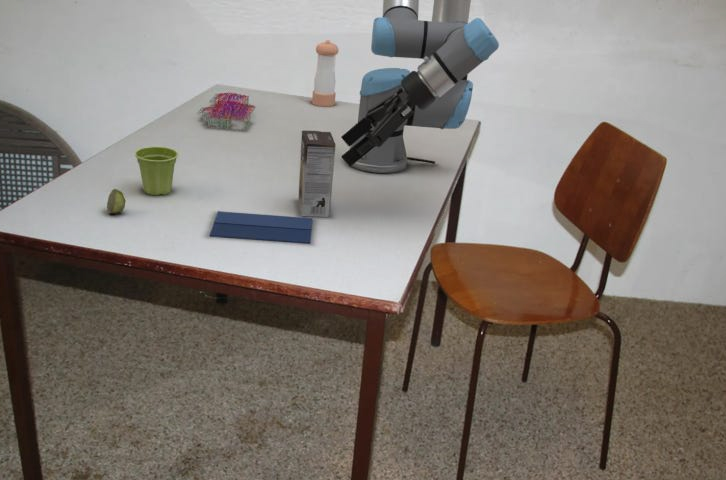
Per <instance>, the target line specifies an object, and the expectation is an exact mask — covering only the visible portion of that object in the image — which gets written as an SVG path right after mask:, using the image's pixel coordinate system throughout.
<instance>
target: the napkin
mask: <svg viewBox="0 0 726 480" xmlns="http://www.w3.org/2000/svg"><path fill="white" fill-rule="evenodd" d="M312 227H313V218H312V217H302V216H288V215H287V216H286V215H285V216H284V215H273V214H258V213H244V212H233V211H220V210H219V211H217V214H216V216H215V219H214V222H213V226H212V228H211V230H210V233H209V237H213V238H227V239H228V238H229V239H242V240H257V241H268V242H270V241H271V242H282V243H294V244H295V243H296V244H311V237H312V229H313V228H312Z"/></svg>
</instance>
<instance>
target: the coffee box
mask: <svg viewBox="0 0 726 480" xmlns="http://www.w3.org/2000/svg"><path fill="white" fill-rule="evenodd" d="M300 143H301V144H300V161H299V179H298V180H299V181H298V199H297V200H298V207H299V211H300V215H301V216H300V217H317V218H318V217H319V218H322V217H323V218H330V215H331V204H332V194H333V193H332V192H333V181H334V171H335V158H336V157H335V156H336V142H335V140H334V137H333V135H332V132H331V131H320V130H301V142H300Z"/></svg>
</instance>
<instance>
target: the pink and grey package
mask: <svg viewBox="0 0 726 480" xmlns="http://www.w3.org/2000/svg"><path fill="white" fill-rule="evenodd" d="M249 99H250V96H249V95H246V94H241V93H235V92H229V91H228V92H220V93H219V92H218V93H215V95H213V97H211V98H210V100H209V101H208V103H209V104H210V103H211V105H210V106H204V107H201V108H200V109H199V110H198V111H197V112H196V115H199V116H200V118H199V119H200V120H201V121H202V122H205V125H207V128H212V129H223V130H229V129H230V130H235V131H237V129H239V126H238V125H239V124H242V131H246V130H247V128H248V127H249V125H250V123H251V115H252V114H253V113H254V111H255V109H256V107H257V106H256V105H254V104H249ZM235 121H236V124H235ZM232 123H233V128H231V125H232ZM219 124H220V126H219ZM234 124H235V125H234Z"/></svg>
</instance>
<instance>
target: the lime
mask: <svg viewBox="0 0 726 480" xmlns="http://www.w3.org/2000/svg"><path fill="white" fill-rule="evenodd" d="M125 207H126V198H125V195H124V193H123V192H122V191H121V190H119V189H117V188H113V189H112V190H111V192H110V193H109V194H108V198H107V203H106V211H107V213H108V214H111V215H113V214H115V215H116V214H119V213H120V212H122V211H124V209H125Z"/></svg>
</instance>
